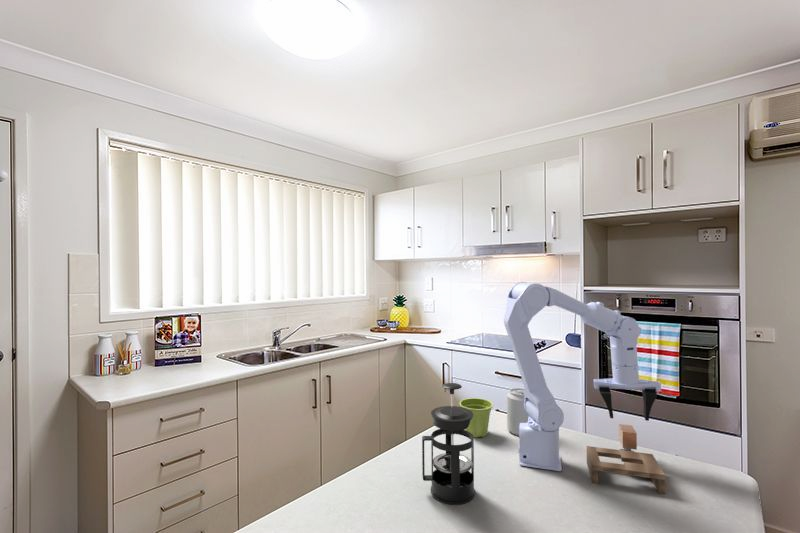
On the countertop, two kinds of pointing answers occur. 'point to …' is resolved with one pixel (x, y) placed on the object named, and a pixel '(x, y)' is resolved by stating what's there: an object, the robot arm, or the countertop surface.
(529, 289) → the robot arm
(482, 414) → the plant pot
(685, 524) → the countertop surface
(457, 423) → the french press
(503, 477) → the countertop surface
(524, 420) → the can
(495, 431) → the countertop surface
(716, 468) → the countertop surface
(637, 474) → the keyhole plate
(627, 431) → the peg
